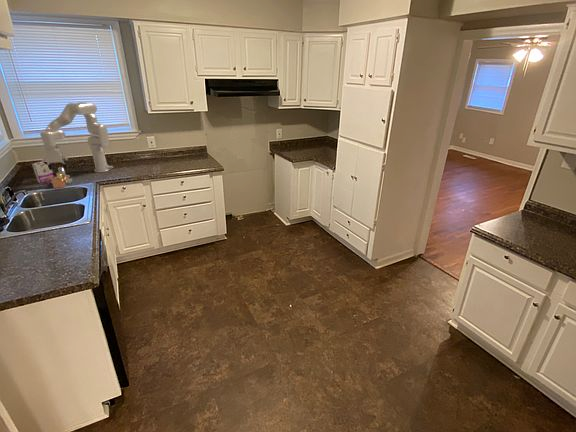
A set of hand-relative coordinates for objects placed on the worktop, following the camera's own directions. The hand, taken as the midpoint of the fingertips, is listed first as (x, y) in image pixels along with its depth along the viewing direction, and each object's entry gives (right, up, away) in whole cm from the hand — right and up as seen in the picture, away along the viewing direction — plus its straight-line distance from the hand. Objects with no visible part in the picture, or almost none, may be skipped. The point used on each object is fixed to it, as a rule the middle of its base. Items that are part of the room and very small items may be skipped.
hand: (58, 169), depth 247 cm
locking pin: (0, -12, +5) cm, 13 cm away
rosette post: (-1, -11, +7) cm, 13 cm away
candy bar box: (-18, -9, +12) cm, 23 cm away
